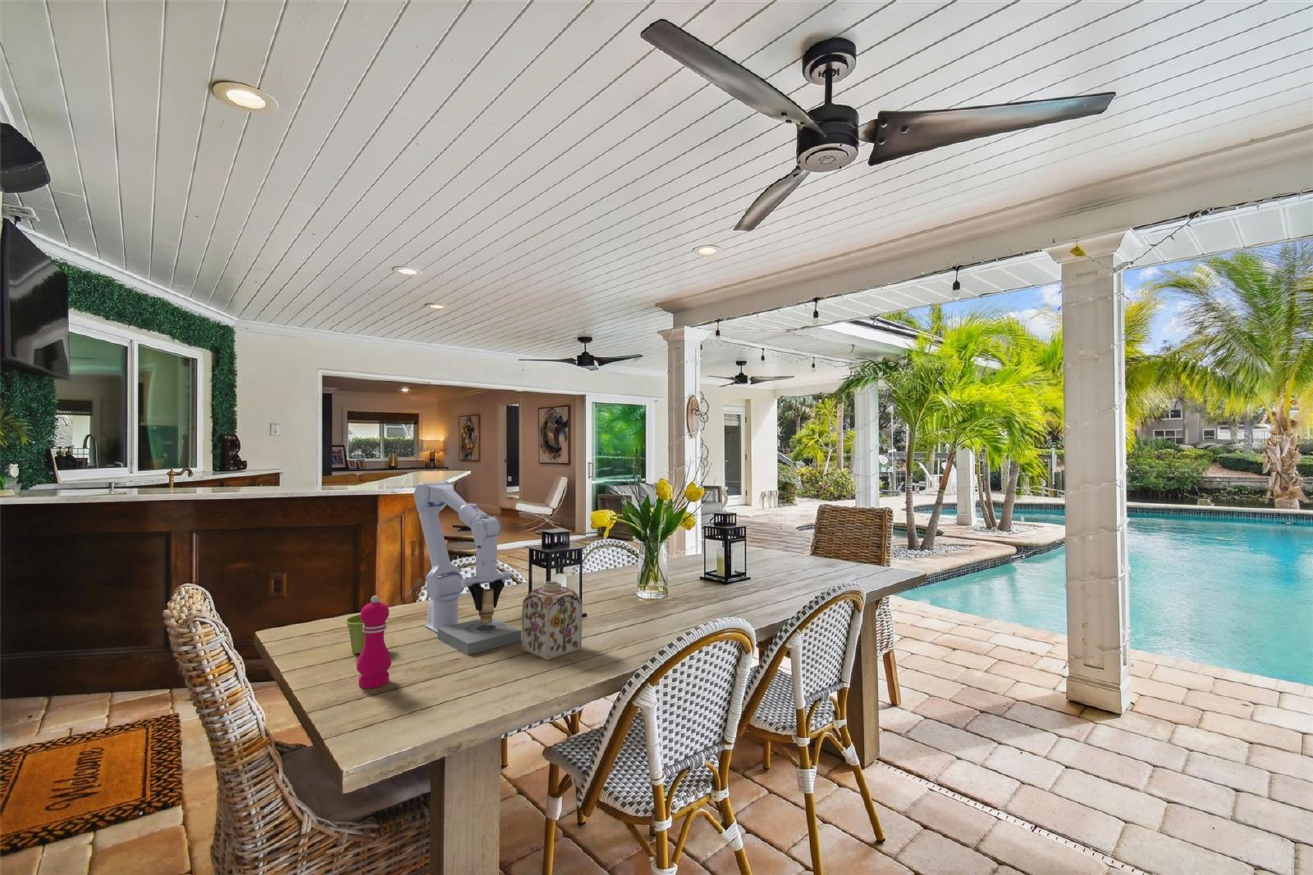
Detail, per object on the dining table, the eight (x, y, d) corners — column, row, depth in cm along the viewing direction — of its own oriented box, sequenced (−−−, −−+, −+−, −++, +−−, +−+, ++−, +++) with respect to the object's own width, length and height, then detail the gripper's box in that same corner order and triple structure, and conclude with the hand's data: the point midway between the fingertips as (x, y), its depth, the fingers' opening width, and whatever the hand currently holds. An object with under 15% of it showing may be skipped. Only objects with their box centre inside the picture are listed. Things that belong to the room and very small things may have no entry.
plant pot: (390, 650, 157) (390, 617, 157) (353, 659, 150) (353, 625, 150) (376, 642, 163) (376, 610, 163) (339, 650, 156) (340, 618, 156)
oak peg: (476, 622, 167) (476, 590, 167) (489, 619, 170) (489, 587, 170) (482, 625, 164) (483, 592, 164) (496, 622, 167) (496, 590, 167)
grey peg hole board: (437, 638, 166) (437, 628, 166) (489, 626, 178) (489, 616, 178) (467, 655, 154) (467, 643, 154) (521, 641, 165) (521, 630, 165)
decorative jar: (520, 650, 157) (521, 582, 158) (555, 640, 166) (556, 576, 166) (547, 661, 149) (548, 590, 150) (583, 650, 158) (583, 582, 158)
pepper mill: (356, 692, 130) (357, 601, 131) (356, 680, 137) (357, 593, 137) (392, 686, 134) (393, 597, 134) (390, 674, 140) (391, 590, 140)
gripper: (469, 566, 159) (468, 616, 159) (516, 559, 170) (516, 606, 169) (457, 562, 164) (456, 611, 164) (503, 555, 175) (503, 601, 174)
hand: (486, 608), depth 167 cm, fingers closed on oak peg, 4 cm apart
